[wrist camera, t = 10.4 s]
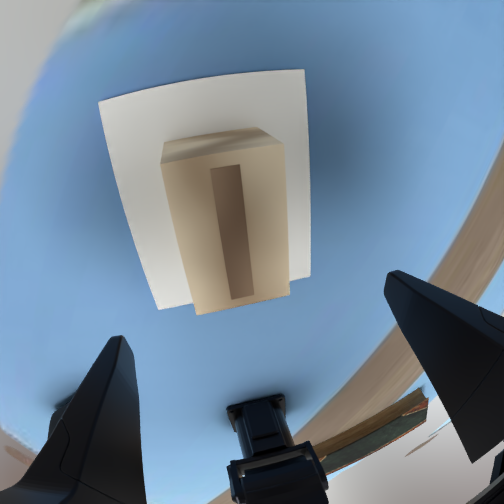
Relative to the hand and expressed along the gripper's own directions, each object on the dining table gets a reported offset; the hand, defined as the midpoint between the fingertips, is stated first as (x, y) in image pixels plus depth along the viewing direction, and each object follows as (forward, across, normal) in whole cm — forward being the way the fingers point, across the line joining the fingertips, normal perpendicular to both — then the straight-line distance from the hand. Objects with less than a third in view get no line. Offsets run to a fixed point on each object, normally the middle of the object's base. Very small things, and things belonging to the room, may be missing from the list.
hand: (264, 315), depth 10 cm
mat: (+10, 0, 0) cm, 10 cm away
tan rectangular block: (+10, 0, 0) cm, 10 cm away
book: (+11, -19, +51) cm, 56 cm away
